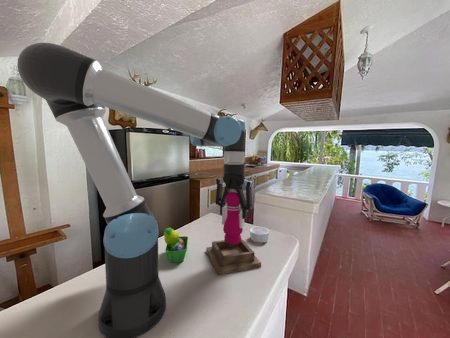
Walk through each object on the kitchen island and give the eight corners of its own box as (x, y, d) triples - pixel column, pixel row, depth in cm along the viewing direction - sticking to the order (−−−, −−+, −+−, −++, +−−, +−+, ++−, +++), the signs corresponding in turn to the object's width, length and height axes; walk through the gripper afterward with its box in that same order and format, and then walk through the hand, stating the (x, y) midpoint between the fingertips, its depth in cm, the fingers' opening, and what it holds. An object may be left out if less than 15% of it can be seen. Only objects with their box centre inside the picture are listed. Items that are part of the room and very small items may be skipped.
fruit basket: (187, 263, 71) (187, 233, 70) (161, 265, 69) (161, 234, 68) (188, 247, 82) (188, 221, 81) (166, 249, 81) (165, 222, 80)
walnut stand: (217, 274, 64) (217, 261, 64) (206, 251, 80) (206, 240, 79) (261, 266, 69) (261, 254, 69) (242, 245, 85) (243, 235, 84)
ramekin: (269, 244, 86) (269, 235, 86) (248, 242, 88) (249, 233, 88) (268, 236, 95) (269, 227, 95) (250, 234, 97) (250, 225, 96)
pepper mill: (245, 239, 75) (247, 187, 73) (236, 246, 69) (237, 190, 67) (229, 234, 79) (230, 185, 77) (219, 241, 73) (220, 188, 71)
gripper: (263, 164, 70) (261, 226, 72) (215, 161, 79) (215, 217, 81) (256, 165, 64) (254, 234, 66) (205, 162, 72) (205, 223, 74)
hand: (232, 225), depth 73 cm, fingers closed on pepper mill, 6 cm apart
